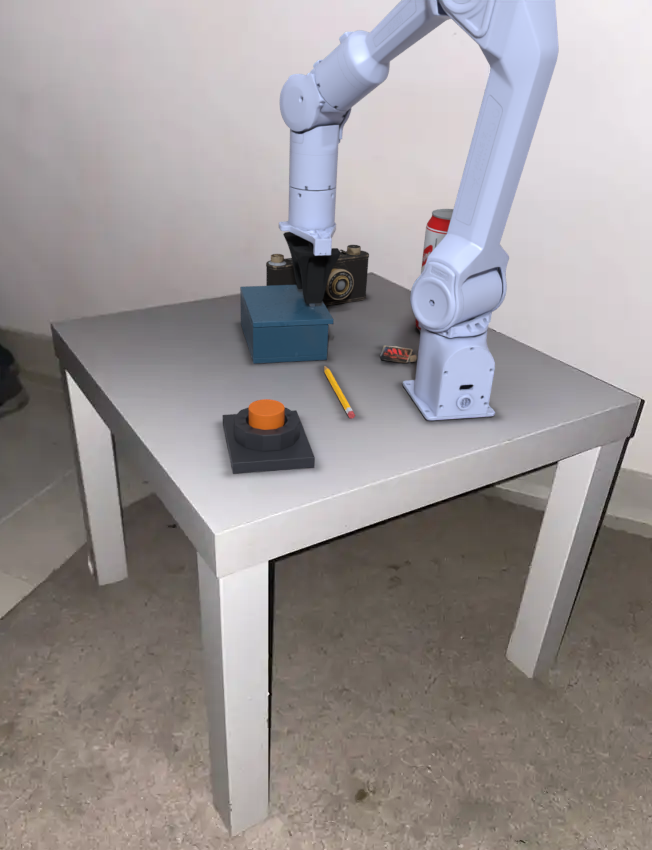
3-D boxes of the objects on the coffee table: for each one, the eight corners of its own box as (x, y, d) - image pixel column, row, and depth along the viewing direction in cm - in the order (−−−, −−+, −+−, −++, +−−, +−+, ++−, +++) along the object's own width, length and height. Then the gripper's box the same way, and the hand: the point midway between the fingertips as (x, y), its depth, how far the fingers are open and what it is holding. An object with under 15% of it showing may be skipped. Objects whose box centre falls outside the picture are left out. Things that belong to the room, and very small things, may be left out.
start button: (287, 430, 76) (287, 414, 76) (251, 432, 76) (250, 416, 75) (281, 413, 79) (281, 398, 79) (246, 415, 79) (246, 400, 78)
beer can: (462, 326, 109) (478, 210, 101) (457, 342, 104) (474, 221, 96) (417, 320, 110) (430, 205, 102) (411, 336, 105) (424, 216, 97)
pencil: (348, 418, 85) (348, 413, 84) (320, 368, 96) (321, 363, 95) (355, 418, 85) (355, 412, 84) (327, 368, 96) (327, 363, 95)
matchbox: (381, 363, 97) (381, 359, 97) (378, 347, 101) (378, 343, 101) (418, 364, 97) (418, 360, 97) (413, 348, 101) (414, 345, 101)
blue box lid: (312, 288, 107) (313, 255, 104) (333, 324, 95) (335, 287, 93) (240, 291, 105) (239, 257, 102) (253, 327, 94) (252, 290, 91)
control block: (314, 467, 76) (315, 441, 74) (232, 473, 74) (232, 446, 73) (296, 419, 84) (296, 395, 82) (222, 424, 82) (221, 399, 81)
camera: (280, 320, 109) (281, 264, 105) (261, 305, 114) (261, 251, 110) (379, 305, 116) (384, 252, 111) (357, 291, 121) (360, 240, 116)
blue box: (307, 321, 109) (308, 289, 106) (327, 360, 98) (328, 324, 95) (240, 324, 107) (240, 291, 105) (253, 363, 96) (253, 328, 94)
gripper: (270, 173, 98) (270, 278, 105) (290, 200, 86) (288, 316, 93) (324, 173, 99) (320, 276, 107) (351, 199, 87) (344, 314, 94)
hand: (309, 295), depth 100 cm, fingers closed on blue box lid, 5 cm apart
